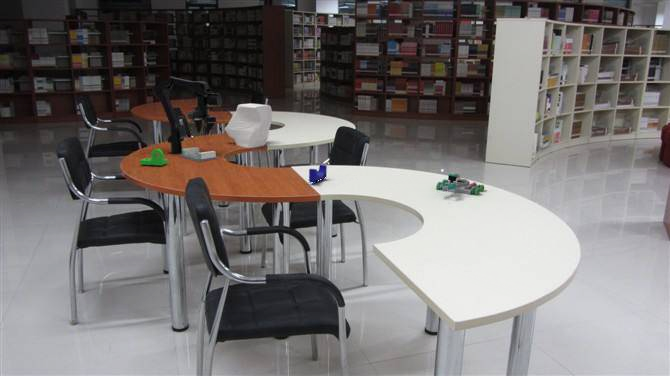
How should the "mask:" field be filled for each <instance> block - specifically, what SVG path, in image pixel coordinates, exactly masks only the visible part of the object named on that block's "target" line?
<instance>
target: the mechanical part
mask: <svg viewBox="0 0 670 376" xmlns="http://www.w3.org/2000/svg"><path fill="white" fill-rule="evenodd" d="M150 154H151V156H150V157H151V158H149V157H148V158H142V159H140V160H139V165H149V166H151V165H152V166H164V165H166V164H168V162H169V161H168V158H167V159H166V158H165V157H164V152H163V150H162V149H160V148H156V149H153V150H152V151H151V153H150ZM157 154H158V156H157ZM164 158H165V159H164Z"/></svg>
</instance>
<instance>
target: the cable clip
mask: <svg viewBox="0 0 670 376" xmlns="http://www.w3.org/2000/svg"><path fill="white" fill-rule="evenodd" d="M327 167H328V166H327V165H325V164H320V165H319V166H318V170H317V169H315V168H309V170H308V182H309V181H310V182H309V183H311V182H316V181H318V180H320V179H323V178H325V177H326V178H327ZM326 178H325V179H326ZM323 180H324V179H323ZM316 183H317V182H316Z"/></svg>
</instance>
